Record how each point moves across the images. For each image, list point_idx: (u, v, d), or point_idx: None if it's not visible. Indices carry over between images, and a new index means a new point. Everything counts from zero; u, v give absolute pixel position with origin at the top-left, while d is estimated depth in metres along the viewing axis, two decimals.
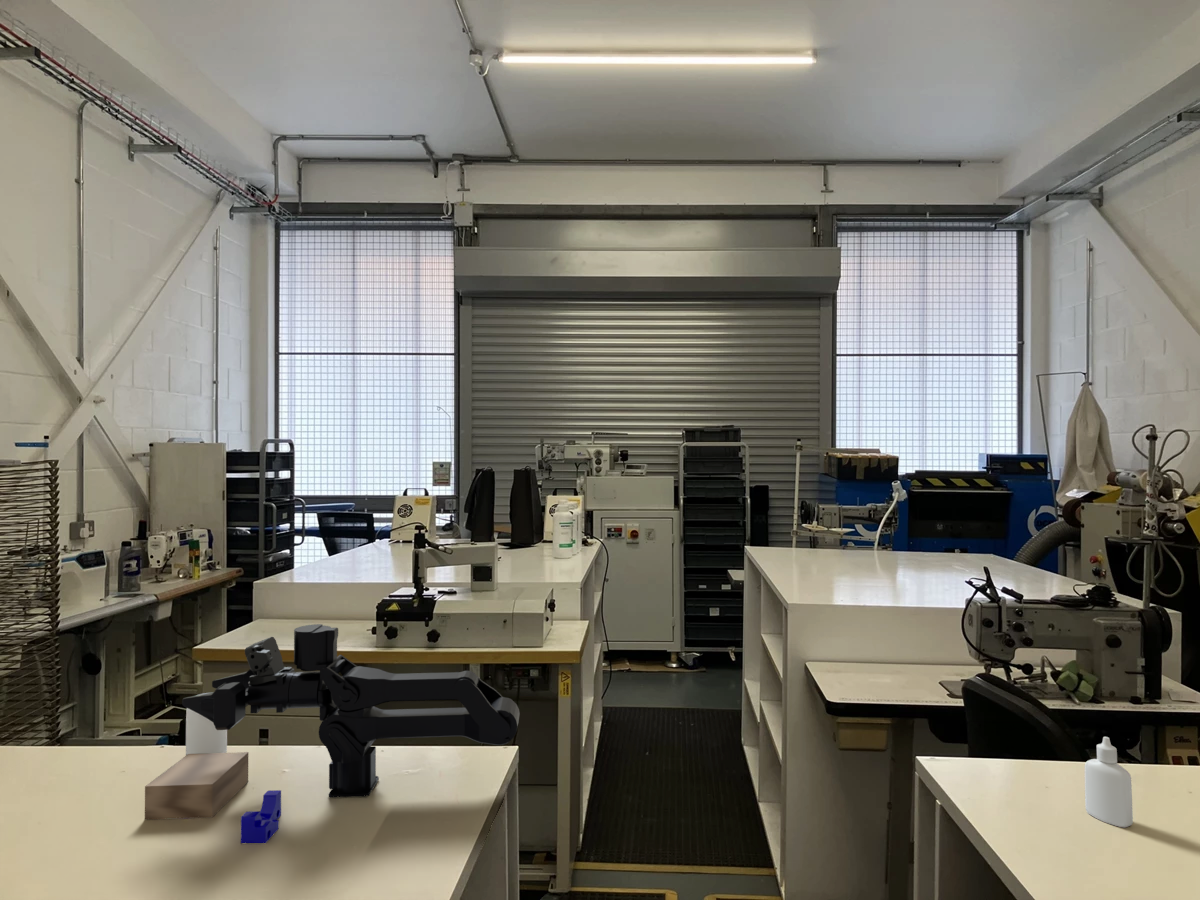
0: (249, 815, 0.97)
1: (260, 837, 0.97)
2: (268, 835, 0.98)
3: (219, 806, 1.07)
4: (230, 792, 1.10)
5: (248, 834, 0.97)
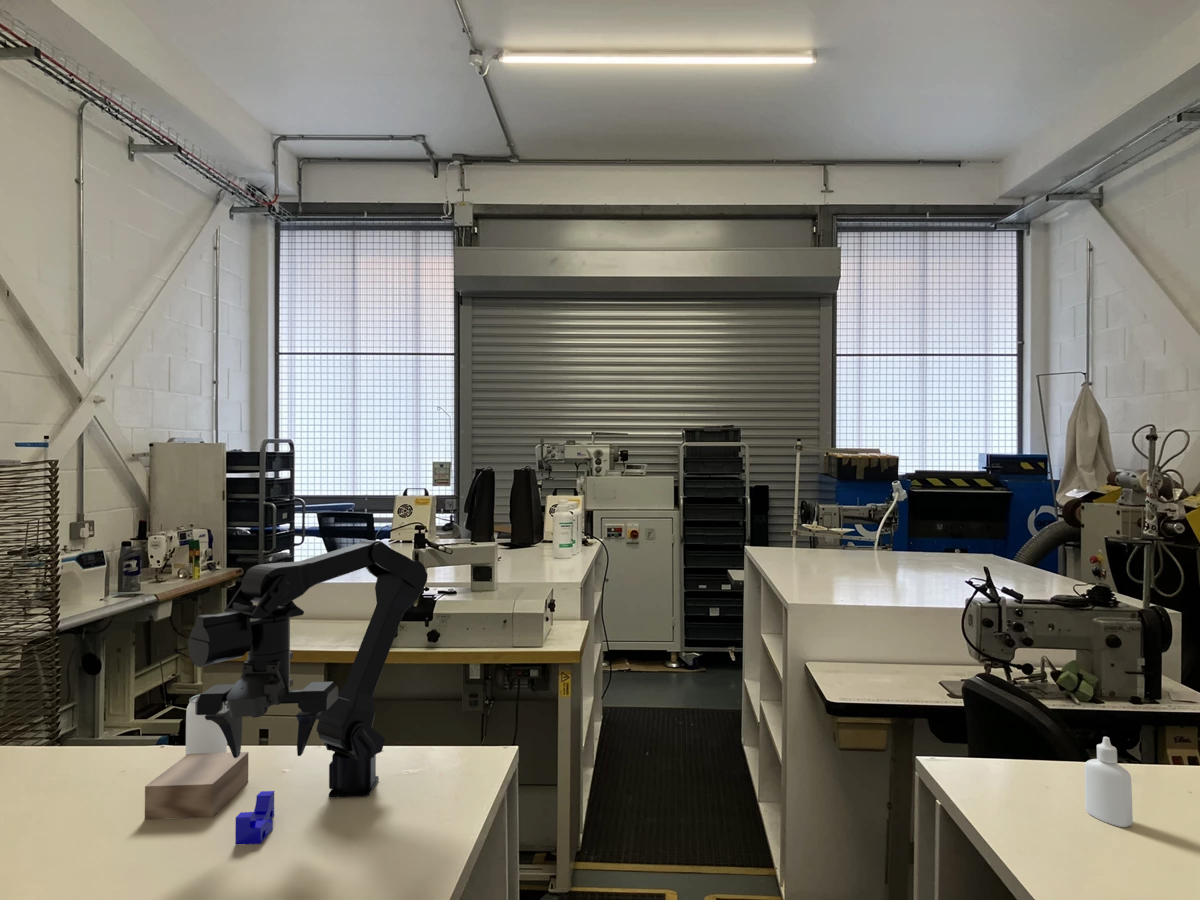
0: (244, 816, 0.97)
1: (255, 838, 0.97)
2: (263, 835, 0.98)
3: (219, 806, 1.07)
4: (230, 792, 1.10)
5: (243, 835, 0.97)
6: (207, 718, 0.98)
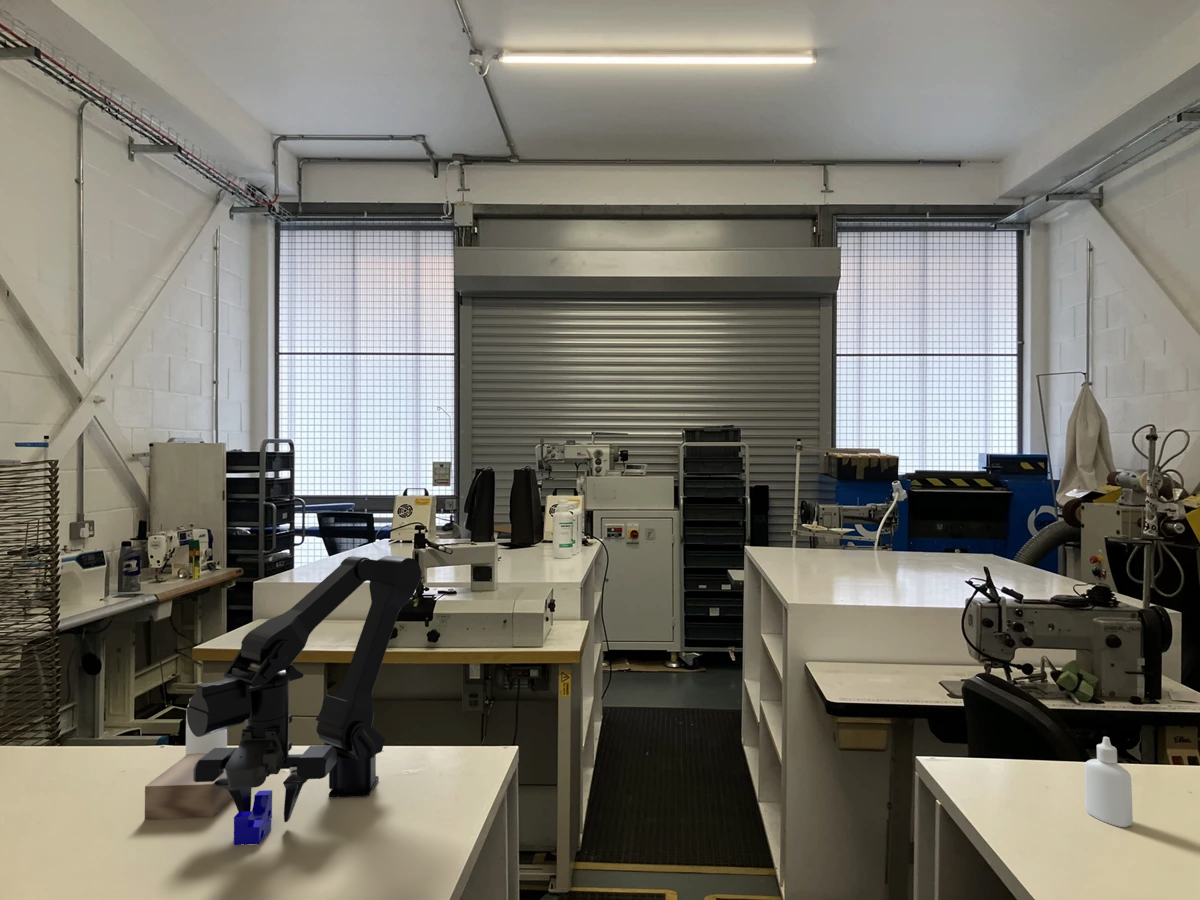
0: (242, 815, 0.97)
1: (253, 837, 0.97)
2: (261, 835, 0.98)
3: (219, 806, 1.07)
4: None
5: (241, 834, 0.97)
6: (217, 785, 0.98)
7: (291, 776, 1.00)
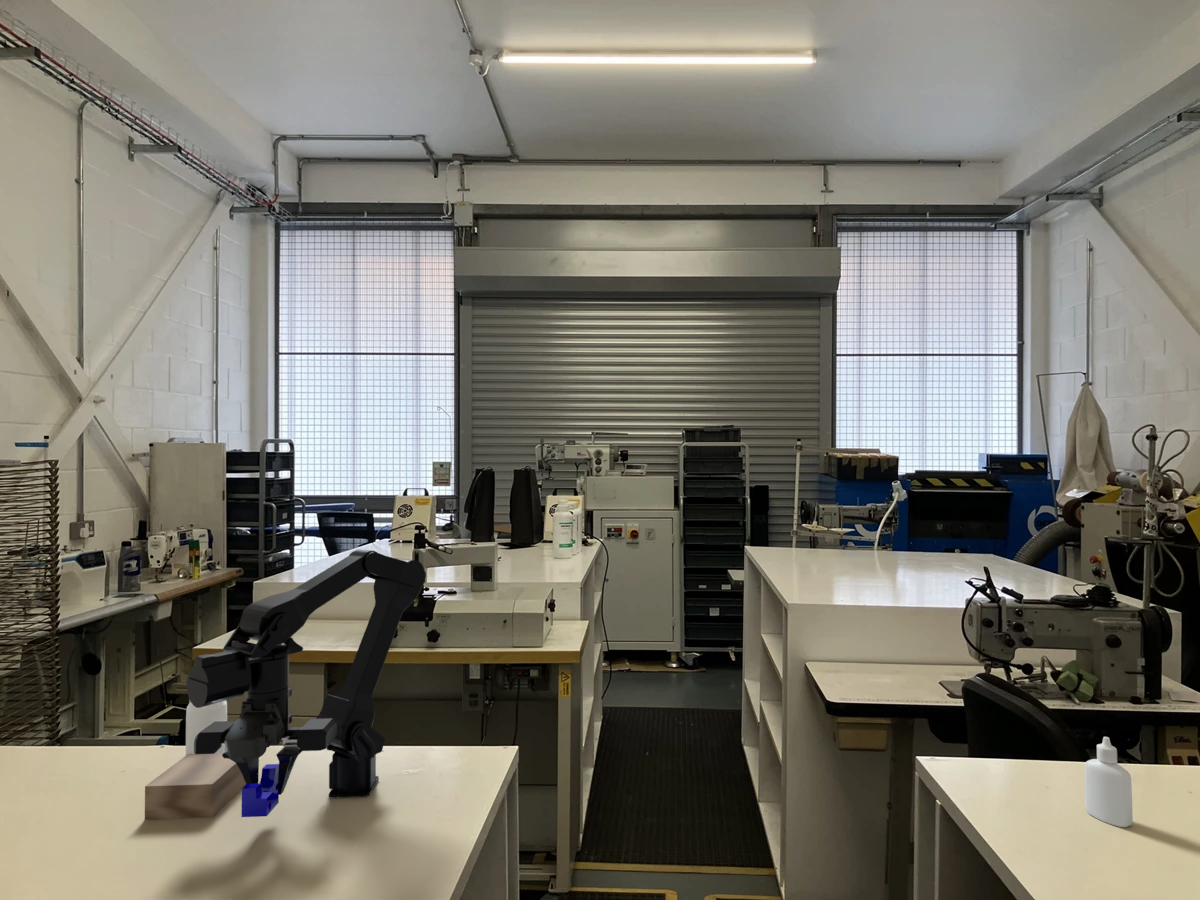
0: (250, 787, 0.97)
1: (261, 808, 0.97)
2: (269, 807, 0.98)
3: (219, 806, 1.07)
4: (230, 792, 1.10)
5: (249, 806, 0.97)
6: (225, 756, 0.98)
7: (284, 748, 1.00)
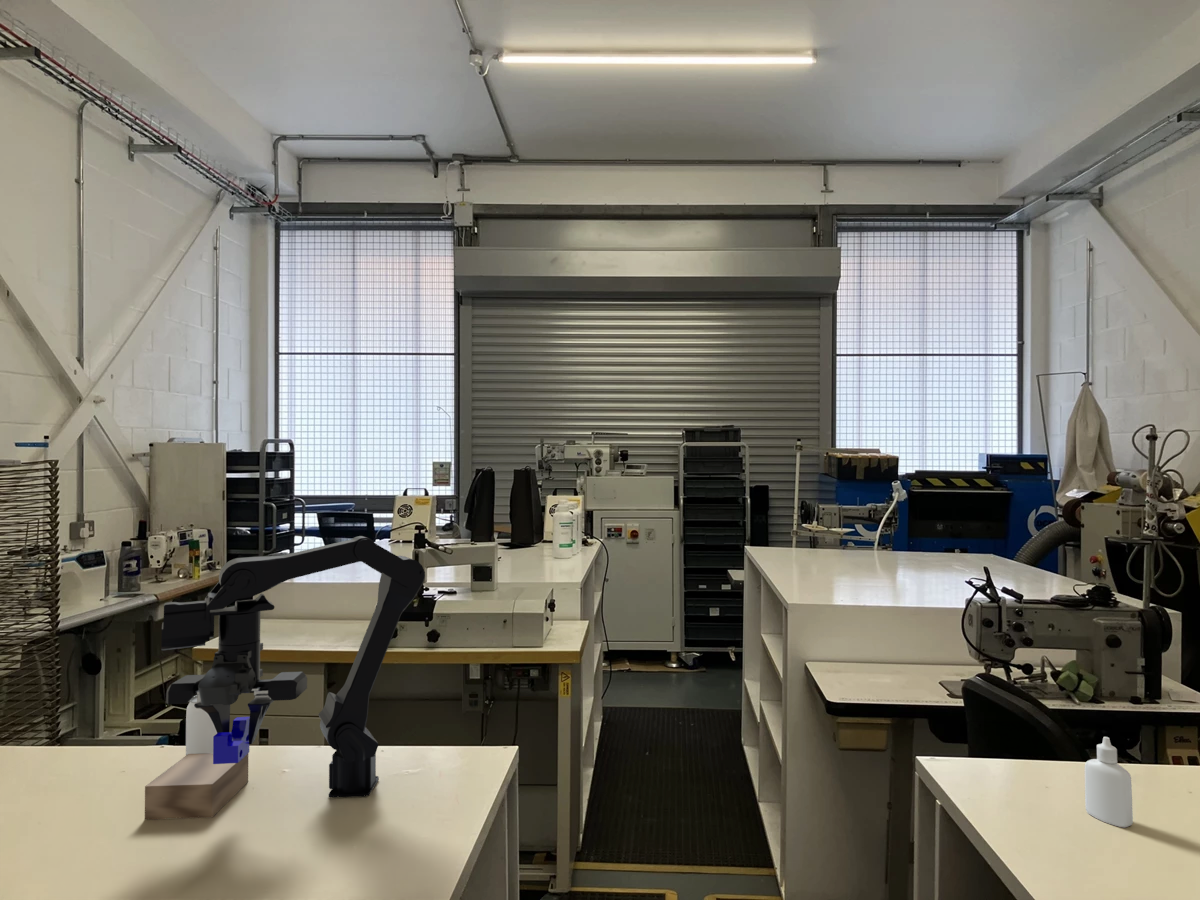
0: (221, 735, 1.01)
1: (232, 755, 1.01)
2: (240, 754, 1.02)
3: (219, 806, 1.07)
4: (230, 792, 1.10)
5: (220, 753, 1.00)
6: (197, 706, 1.02)
7: (255, 699, 1.04)
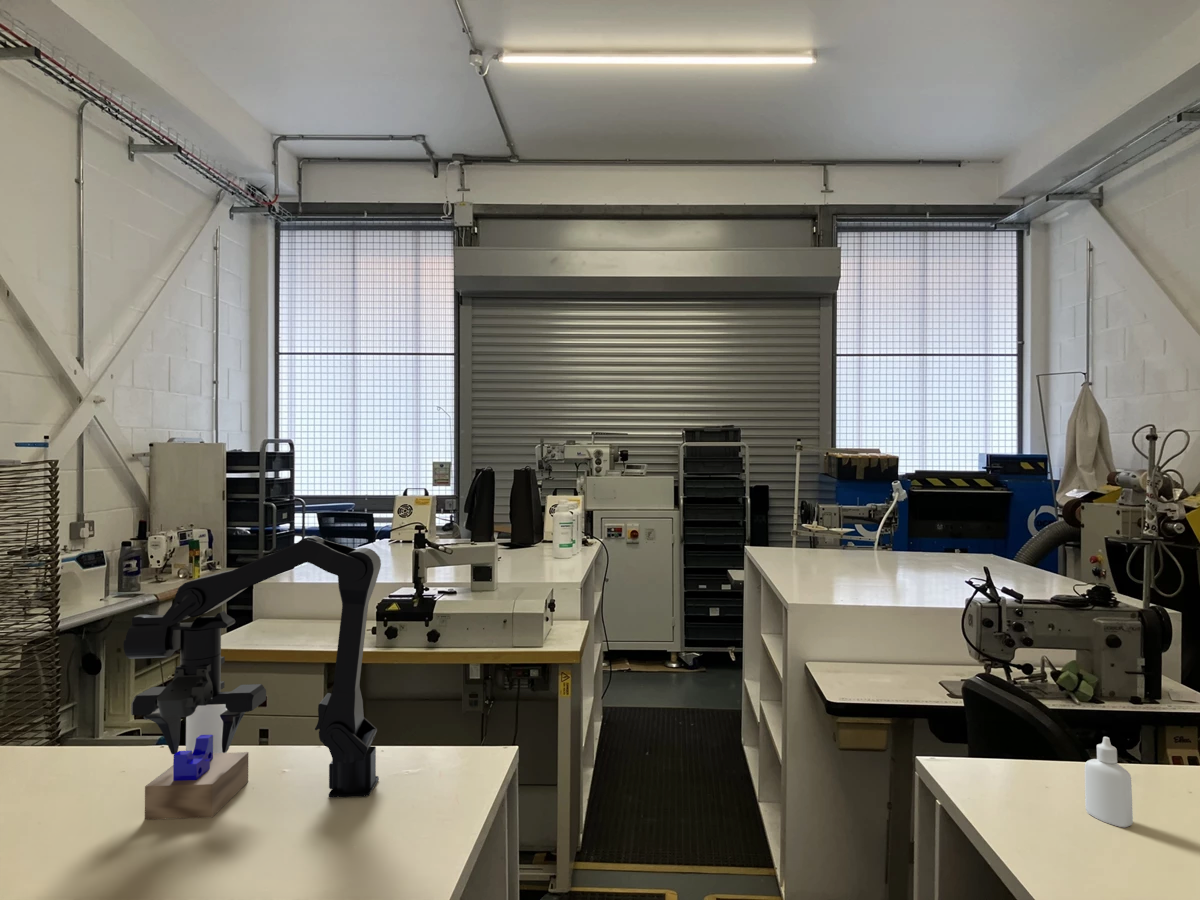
0: (181, 753, 1.06)
1: (191, 773, 1.06)
2: (199, 772, 1.07)
3: (219, 806, 1.07)
4: (230, 792, 1.10)
5: (180, 770, 1.06)
6: (146, 718, 1.07)
7: (228, 710, 1.09)
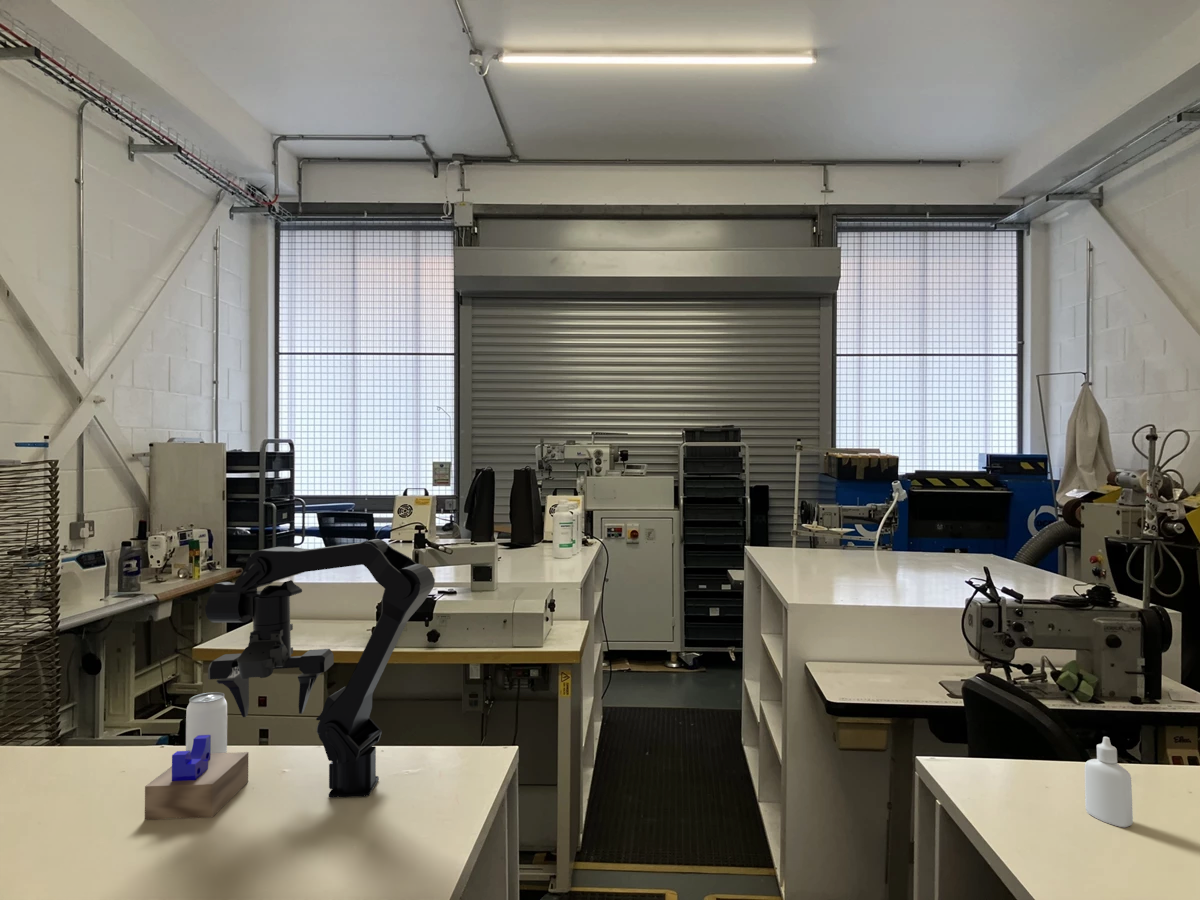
0: (180, 754, 1.06)
1: (190, 773, 1.06)
2: (198, 772, 1.07)
3: (219, 806, 1.07)
4: (230, 792, 1.10)
5: (179, 771, 1.06)
6: (219, 682, 1.13)
7: None
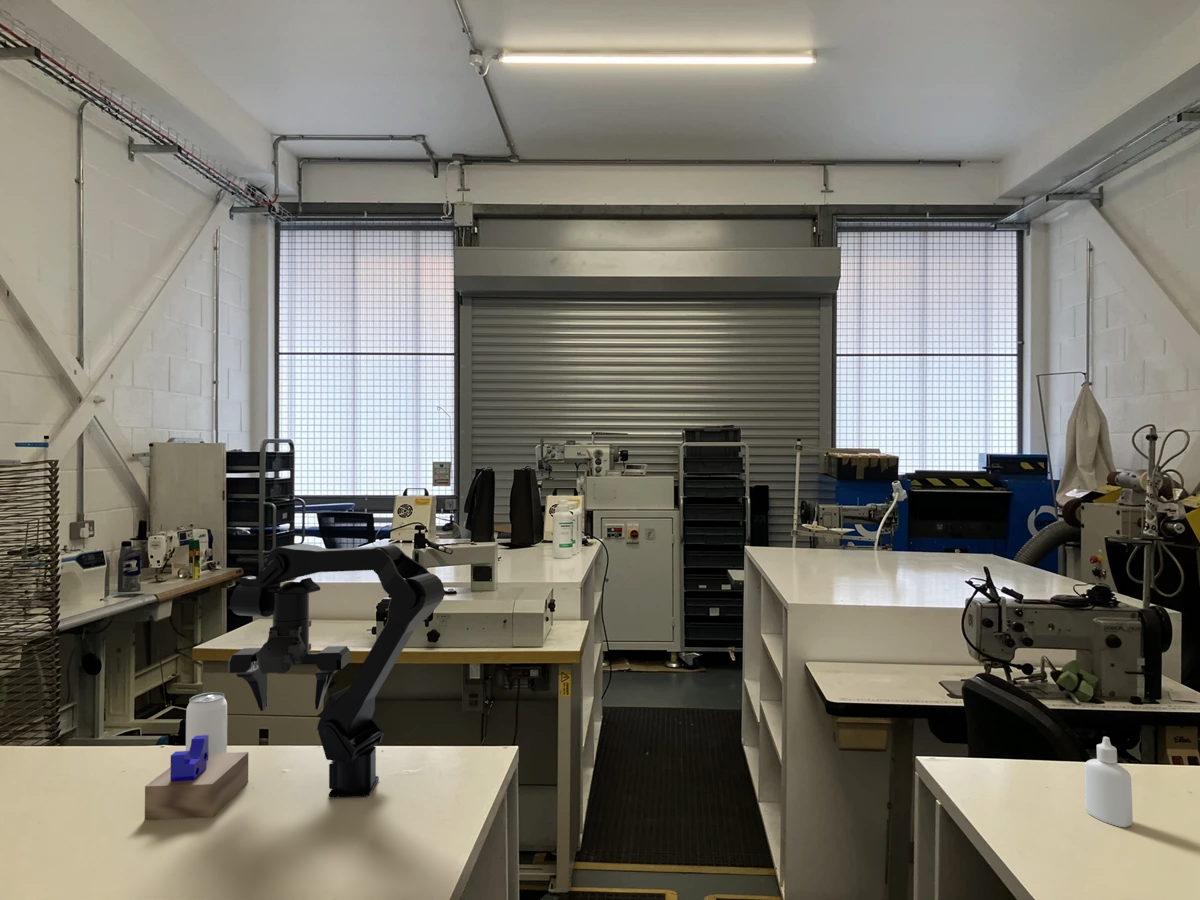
0: (178, 754, 1.06)
1: (189, 773, 1.06)
2: (196, 772, 1.07)
3: (219, 806, 1.07)
4: (230, 792, 1.10)
5: (177, 771, 1.06)
6: (238, 675, 1.14)
7: None
